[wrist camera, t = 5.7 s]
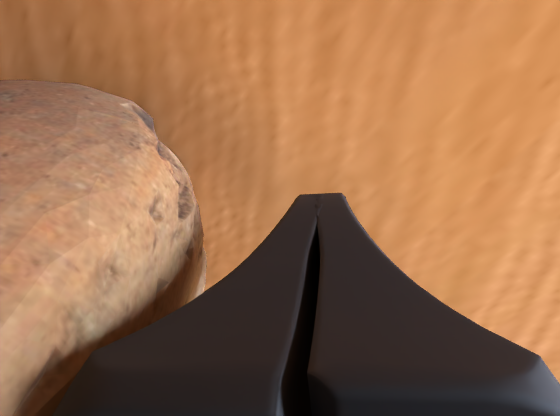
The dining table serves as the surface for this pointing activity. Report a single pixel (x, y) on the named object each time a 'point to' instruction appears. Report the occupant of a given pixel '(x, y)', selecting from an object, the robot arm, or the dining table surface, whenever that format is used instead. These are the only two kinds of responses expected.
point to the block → (84, 234)
